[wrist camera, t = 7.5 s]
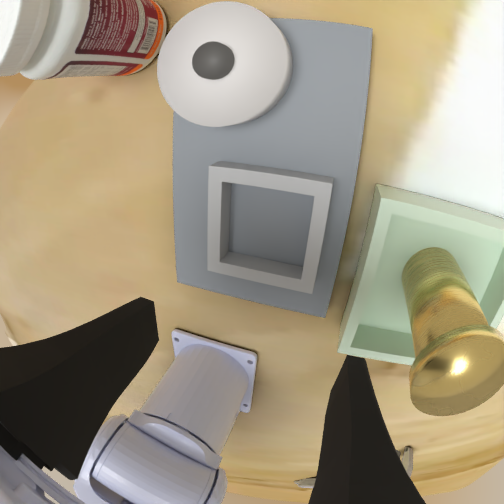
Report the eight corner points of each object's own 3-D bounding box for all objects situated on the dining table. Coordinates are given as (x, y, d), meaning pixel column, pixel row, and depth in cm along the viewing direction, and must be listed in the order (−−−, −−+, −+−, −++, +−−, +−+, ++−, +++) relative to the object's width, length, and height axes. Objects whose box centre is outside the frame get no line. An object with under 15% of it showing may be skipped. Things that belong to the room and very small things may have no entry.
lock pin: (447, 311, 18) (476, 416, 10) (386, 299, 19) (393, 412, 11) (472, 249, 15) (530, 345, 8) (407, 234, 16) (440, 334, 9)
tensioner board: (327, 307, 21) (320, 343, 18) (184, 274, 23) (159, 301, 20) (371, 26, 12) (376, 5, 9) (189, 21, 15) (156, 8, 11)
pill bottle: (147, -15, 14) (18, -50, 4) (185, 36, 15) (38, 6, 6) (93, 40, 17) (-33, 42, 7) (123, 93, 18) (-17, 113, 9)
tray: (461, 345, 19) (468, 372, 16) (340, 323, 21) (337, 352, 19) (515, 222, 14) (536, 241, 11) (376, 183, 16) (381, 197, 14)
